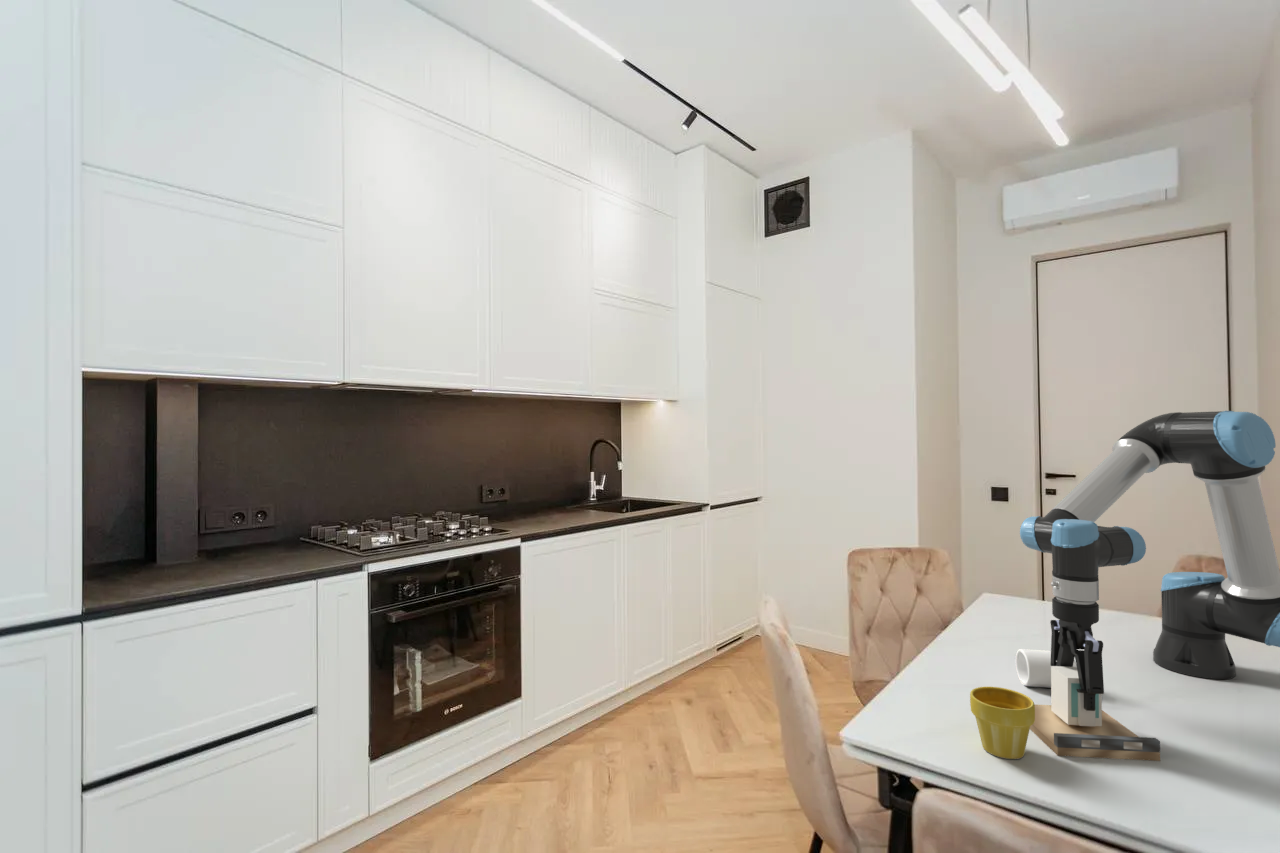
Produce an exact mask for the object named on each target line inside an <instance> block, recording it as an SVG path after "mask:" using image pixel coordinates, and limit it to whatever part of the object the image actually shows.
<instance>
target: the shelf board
mask: <svg viewBox="0 0 1280 853" xmlns="http://www.w3.org/2000/svg"><path fill="white" fill-rule="evenodd" d="M1034 705H1035V722H1034V724H1033V725H1031V726H1030V730H1029V731H1031V733H1033V734H1034V735H1035V736H1036V737H1037V738H1039V739H1040V741H1041V742H1043V743H1044V744H1045V745H1046V746H1047V747H1048V748H1049V749H1050V750H1051V751H1052V752H1053V754H1055V755H1056V756H1059V757H1074V758H1075V757H1076V758H1077V757H1078V758H1079V757H1081V758H1095V759H1096V758H1098V759H1118V760H1119V759H1120V760H1132V761H1133V760H1134V761H1135V760H1136V761H1154V762H1155V761H1156V762H1161V740H1159V739H1158V738H1157V737H1143V736H1138V735H1137V734H1135V733H1134V732H1133V731H1131V730H1130V729H1128V727H1126V726H1124V725H1123V724H1122V723H1120V722H1119V721H1118V720H1117V719H1115V718H1114V717H1112V716H1111V715H1110V714H1108V713H1107V712H1105V711H1104V710H1103V709H1102V726H1080V725H1068V724H1067V723H1066V722H1064V721H1063V720H1062V719H1061V718H1060V717H1058V716H1057V715H1056V714H1055V713H1054V712H1053V711H1051V704H1035V703H1034Z"/></svg>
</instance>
